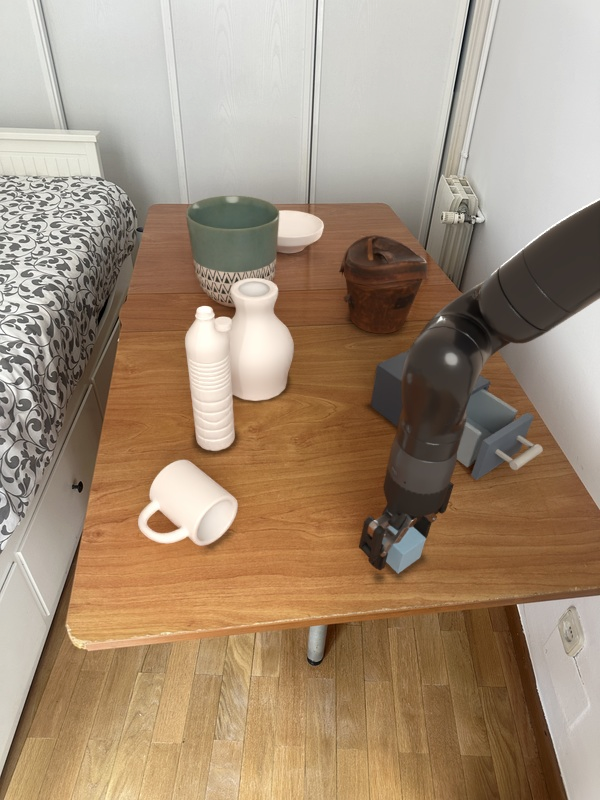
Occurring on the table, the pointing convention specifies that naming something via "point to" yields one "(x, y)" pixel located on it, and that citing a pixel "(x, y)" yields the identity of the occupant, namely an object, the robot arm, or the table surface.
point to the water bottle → (210, 379)
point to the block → (405, 549)
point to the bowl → (297, 230)
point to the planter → (232, 242)
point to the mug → (188, 505)
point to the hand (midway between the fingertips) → (398, 549)
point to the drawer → (494, 435)
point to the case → (381, 282)
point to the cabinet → (398, 387)
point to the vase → (258, 342)
